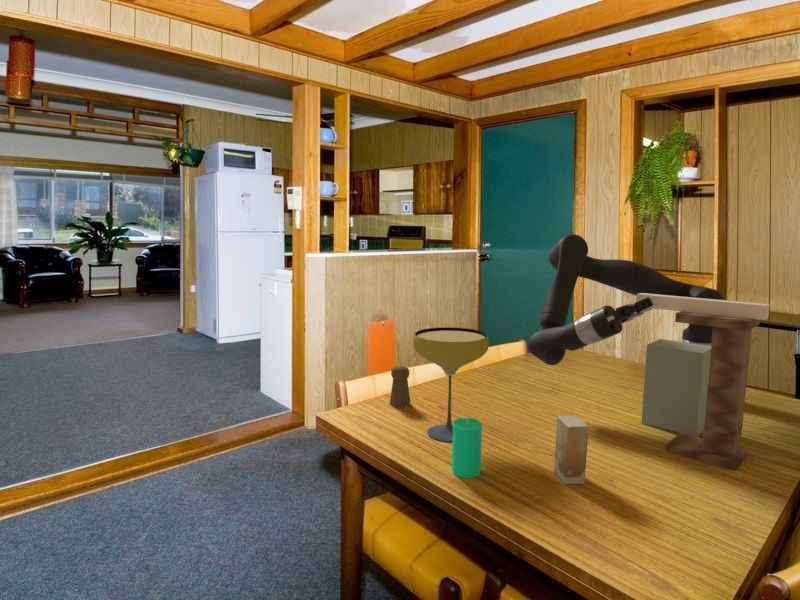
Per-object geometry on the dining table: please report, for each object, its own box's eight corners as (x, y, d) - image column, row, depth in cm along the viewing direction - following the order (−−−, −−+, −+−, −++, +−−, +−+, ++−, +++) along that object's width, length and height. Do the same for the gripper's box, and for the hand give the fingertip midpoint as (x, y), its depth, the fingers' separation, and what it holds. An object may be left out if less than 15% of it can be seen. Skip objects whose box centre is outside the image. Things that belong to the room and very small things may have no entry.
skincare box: (553, 471, 113) (555, 415, 111) (573, 470, 113) (576, 414, 111) (564, 485, 106) (567, 426, 105) (586, 484, 107) (589, 426, 105)
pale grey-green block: (641, 423, 140) (646, 344, 137) (655, 413, 147) (660, 338, 145) (696, 437, 131) (703, 353, 128) (707, 426, 138) (714, 346, 136)
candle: (460, 462, 117) (461, 409, 115) (485, 469, 113) (487, 415, 112) (446, 472, 112) (447, 417, 110) (472, 480, 108) (474, 423, 107)
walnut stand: (665, 450, 123) (675, 313, 119) (679, 438, 130) (690, 308, 126) (735, 470, 114) (749, 321, 109) (746, 456, 121) (760, 315, 116)
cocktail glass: (491, 449, 124) (494, 342, 120) (412, 448, 124) (413, 341, 121) (481, 420, 142) (483, 327, 138) (412, 419, 142) (413, 326, 139)
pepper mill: (408, 408, 151) (408, 370, 149) (387, 406, 152) (387, 369, 151) (412, 401, 157) (412, 364, 155) (392, 400, 158) (392, 363, 157)
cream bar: (635, 306, 128) (636, 294, 128) (640, 305, 130) (641, 293, 130) (765, 320, 110) (766, 305, 110) (768, 318, 112) (769, 304, 112)
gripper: (578, 315, 133) (639, 287, 122) (603, 309, 143) (661, 282, 132) (591, 343, 131) (654, 317, 120) (616, 335, 141) (675, 310, 130)
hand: (657, 299), depth 126 cm, fingers open, 8 cm apart
